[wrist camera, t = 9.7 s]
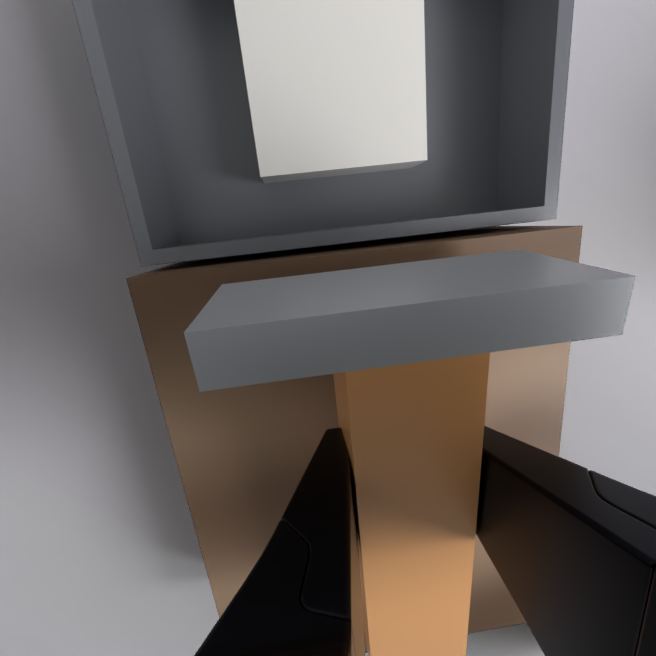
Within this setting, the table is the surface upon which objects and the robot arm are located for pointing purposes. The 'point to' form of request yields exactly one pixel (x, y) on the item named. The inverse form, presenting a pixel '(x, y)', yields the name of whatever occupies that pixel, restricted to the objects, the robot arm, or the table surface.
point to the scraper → (407, 401)
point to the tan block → (319, 400)
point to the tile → (334, 85)
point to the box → (335, 191)
